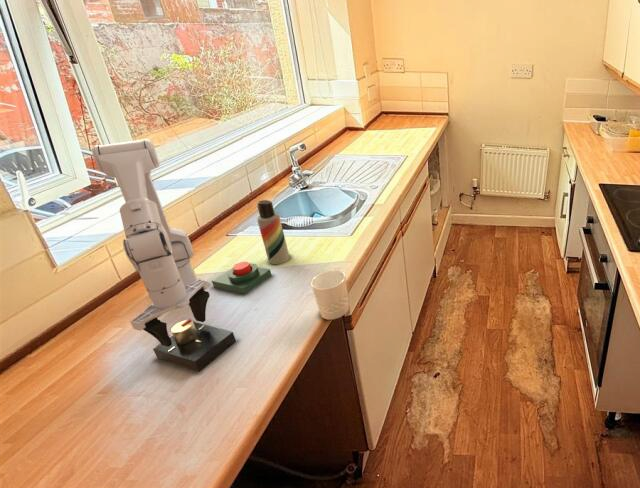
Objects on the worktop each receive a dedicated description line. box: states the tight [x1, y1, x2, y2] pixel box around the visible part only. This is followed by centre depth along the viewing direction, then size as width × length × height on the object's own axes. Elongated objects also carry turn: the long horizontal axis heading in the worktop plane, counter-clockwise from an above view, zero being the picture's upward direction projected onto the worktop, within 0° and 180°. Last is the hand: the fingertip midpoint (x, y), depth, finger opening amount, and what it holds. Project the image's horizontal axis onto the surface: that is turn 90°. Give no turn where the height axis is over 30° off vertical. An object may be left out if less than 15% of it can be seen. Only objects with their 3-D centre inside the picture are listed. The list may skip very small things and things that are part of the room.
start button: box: [232, 261, 251, 275], centre depth 112 cm, size 4×4×2 cm
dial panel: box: [152, 321, 237, 373], centre depth 90 cm, size 12×9×3 cm
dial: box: [170, 318, 198, 345], centre depth 89 cm, size 4×4×4 cm
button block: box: [211, 262, 272, 295], centre depth 113 cm, size 11×9×4 cm
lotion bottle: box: [256, 199, 290, 265], centre depth 120 cm, size 6×6×20 cm
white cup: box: [310, 269, 350, 321], centre depth 101 cm, size 8×8×10 cm
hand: (184, 332), depth 89 cm, fingers open, 7 cm apart
